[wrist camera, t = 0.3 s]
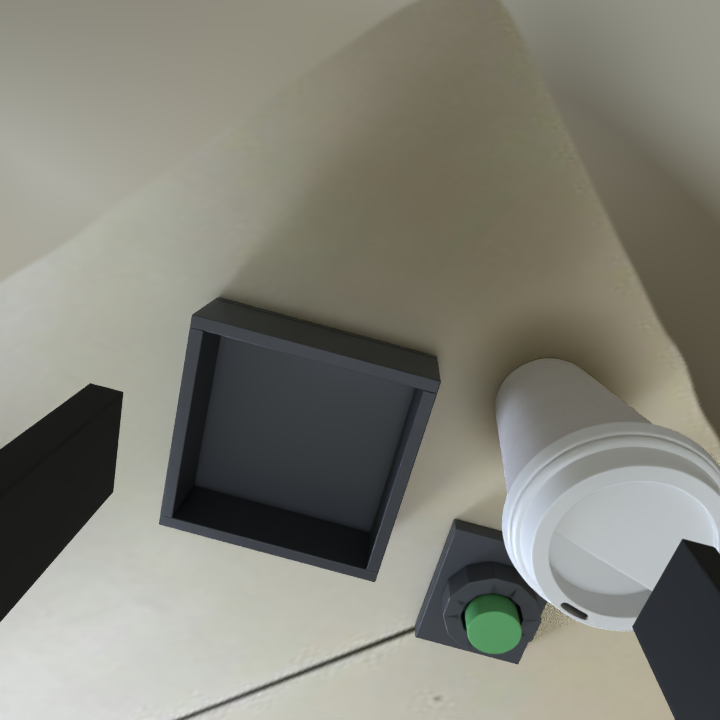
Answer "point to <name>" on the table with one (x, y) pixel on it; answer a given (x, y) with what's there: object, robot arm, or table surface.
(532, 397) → the coffee cup
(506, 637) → the button
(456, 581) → the panel
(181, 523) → the basket
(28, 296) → the table surface
